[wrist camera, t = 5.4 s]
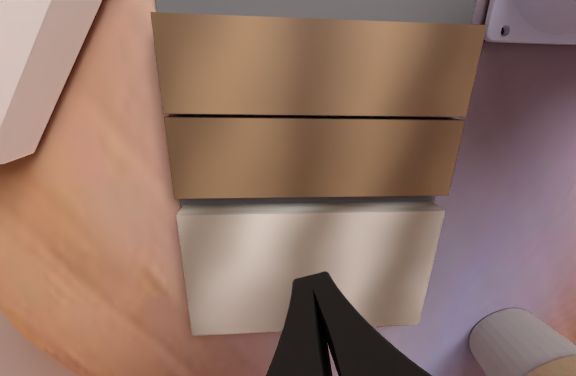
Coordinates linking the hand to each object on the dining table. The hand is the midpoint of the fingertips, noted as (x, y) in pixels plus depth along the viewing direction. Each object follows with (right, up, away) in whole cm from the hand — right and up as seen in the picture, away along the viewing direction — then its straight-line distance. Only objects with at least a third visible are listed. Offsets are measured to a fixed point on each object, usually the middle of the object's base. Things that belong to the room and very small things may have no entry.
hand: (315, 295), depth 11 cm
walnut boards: (+1, +8, +5) cm, 10 cm away
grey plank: (0, -1, +9) cm, 9 cm away
